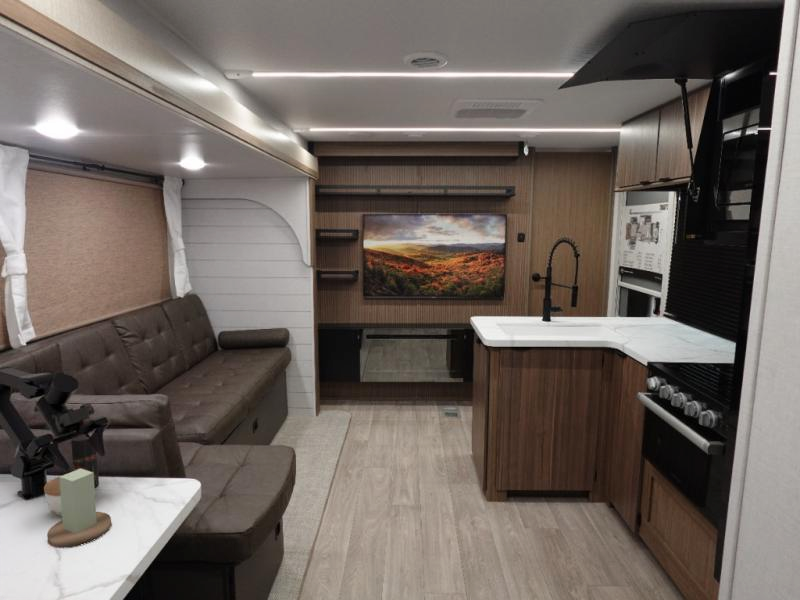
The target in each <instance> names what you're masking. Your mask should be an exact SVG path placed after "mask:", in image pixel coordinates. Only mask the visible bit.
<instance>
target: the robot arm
mask: <svg viewBox="0 0 800 600" xmlns="http://www.w3.org/2000/svg"><path fill="white" fill-rule="evenodd" d="M79 386H80V384H79V381H78V379H77V378H75V377H74V376H72V375H69V374H65V373H64V371H59V372H54V373H51V372H41V373H30V372H27V371H23V370H20V369H18V368H17V369H16V368H13V367H12V366H8V365H6V366H5V365H4V366H0V427H2V429H3V430H4V432H5V433H6V435H7V437H9V439H10V440H11V442H12V443H13V446H14V448H15V449H16V450H15V454H14V460H15V461H14V462H13V464H12V465H11V466H10V472H11V476H12V477H14V478H17V479H20V481H21V482H20V483H21V490H19V491H17V492H16V493H17V495H18V496H19V497H20V498H22V499H24V500H25V501H27V500H31V499H33V498H36V496H37V497H39V496H42V495H45V492H44V486H45V485H46V484H47V483H48V479H47V470H49V469H53V468H55V466H56V467H58V468H60V469H63V470H64V471H66V472H67V471H69V470H70V468H71V467H70V465H69V462H68V461H67V460H66V458H65V457H64V455H63V453H62V452H61V450H60V448H59V444H61V443H63V442H67V441H71V439H73V438H76V437H79V436H82V435H86V437H89V439H88V441H89V443H90V444H91V445H92V446H93V448H94V449H95V450H96V451H97V455H99V456H100V457H102V458H103V457H104V456H105V454H106V453H105V446H104V438H103V437H104V432H105V431H106V429H107V428H108V426H109V425H110V424H111V421H110V420H109V418H108V417H106V416H103V415H101V416H100V417H99V416H98V417H96V418H93V419H91V417H90V416H92V415H94V414H95V409H94V406H92V404H91V403H90V402H87V403H83V404H82V405H80V406H79V408H77V409H73V408H69V407H68V406H67V403H68V402H69V401H70V400H71V398H72V396H73V395H74V394H75V392H76V391H77V389H78V388H79ZM13 389H17V390H19V395H20V396H22V397H24V398H25V399H27V400H34V399H36V398H39V399H38V400H37V401H35V406H34V407H33V412H34V413H40V415H41V417H42V418H43V421H44V422H45V423H46V424H45V426H44V428H45V429H46V430H48V431H49V430H50V432H51V433H52V434H51V433H46V434H43V435H39V436H36V435H35V434H34V432H33V431H32V429H31V428H30V426H29V425H28V424H27V422H26V421H25V420H24V418H23V416H22V415H21V414H20V412H19V411H18V409H17V408H16V406H15V405H14V404H13V402H12V400H11V398H12V392H13ZM85 420H89V422H88V423H87V424H86V426H84V427H81V426H83V425H84V424H85Z"/></svg>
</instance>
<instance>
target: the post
mask: <svg viewBox="0 0 800 600" xmlns="http://www.w3.org/2000/svg"><path fill="white" fill-rule="evenodd" d="M58 477H59V478H60V493H61V507H62V516H61V520H62V522H63V529H65V530H68V531H70V532H72V533H75V534H77V533H79V532H81V531H83V530H85V529H87V528H89V527H91V526H93V525H94V524H96V523H97V522H96V512H97V509H96V491H95V489H96V488H94V473H93V472H90V471H87V470H84V469H78V470H75V471H71V472H68V473H65V474H63V475H61V476H58Z"/></svg>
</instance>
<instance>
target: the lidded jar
mask: <svg viewBox="0 0 800 600" xmlns="http://www.w3.org/2000/svg"><path fill="white" fill-rule="evenodd" d="M59 477H60V476H57V477H55V478H53V479H51V480H50V481H47V484H46V485H45V486H44V492H45V494H44V498H45V502H46V504H47V507H48V508H49V510H50V511H52V512H53V513H54V514H58V515H57V516H59V515H61V516H60V517H62V507H61V493H60V478H59Z"/></svg>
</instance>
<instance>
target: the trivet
mask: <svg viewBox="0 0 800 600" xmlns="http://www.w3.org/2000/svg"><path fill="white" fill-rule="evenodd" d="M111 517H112V516H110V514H108V513H107V512H102V511H96V522H97V523H96V524H94V525H93V526H91V527H89V528H87V529H85V530H83V531H81V532H79V533H77V534H75V533H72V532H70V531H68V530H65V529H63V522H62V519H61V520H59V521H58V522H56V523H55V524H54V525H52V526H51V527H50V528H49V529H48V531H47V533H46V534H47V535H46V537H47V543H48V545H50V546H51V547H53V546H54V547H53V548H58V547H59V548H61V547H63V549H64V547H69V548H74V547H73V546H75V547H79V546H78V545H80V546H82V545H81V544H83V545H85V544H84V543H86V544H88V543H87V542H89V543H91V542H90V541H92V540H94V539H96V540H98V539H100V538H101V537H103V536H104V535H106V534H107V533H108V532H109V530H110V529H111V528H110V527H112V518H111ZM109 528H110V529H109ZM107 531H108V532H107ZM106 532H107V533H106ZM103 534H104V535H103ZM102 535H103V536H102ZM100 536H101V537H100ZM99 537H100V538H99ZM97 538H98V539H97ZM94 541H95V540H94ZM92 542H93V541H92ZM61 549H62V548H61Z"/></svg>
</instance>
